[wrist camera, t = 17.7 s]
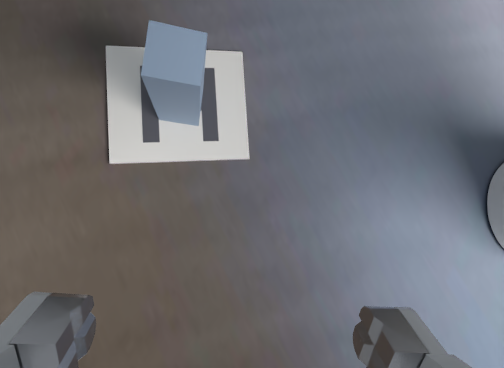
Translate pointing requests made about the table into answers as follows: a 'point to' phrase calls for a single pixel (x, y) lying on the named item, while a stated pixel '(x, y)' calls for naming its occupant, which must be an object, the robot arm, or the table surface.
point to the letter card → (170, 133)
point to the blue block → (175, 71)
